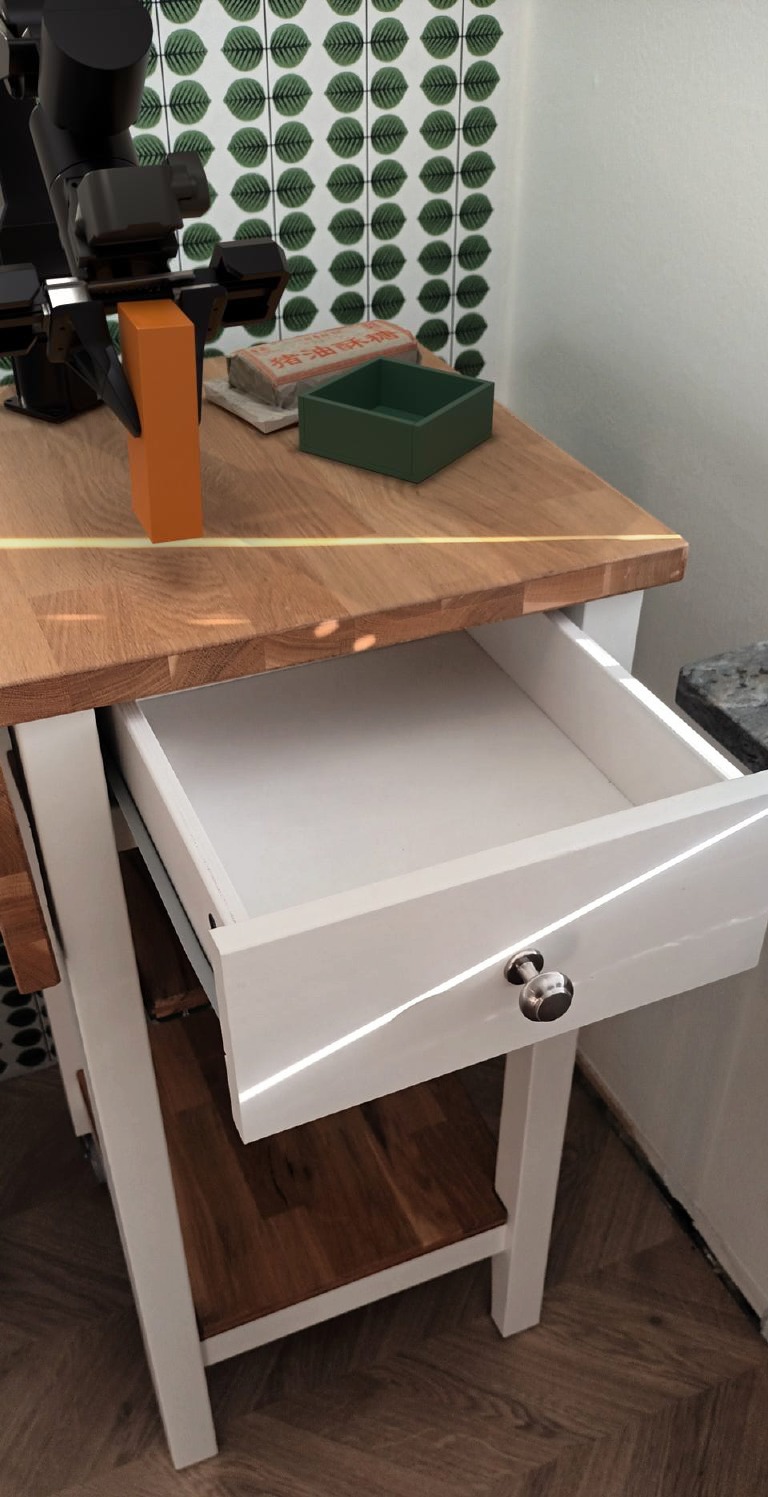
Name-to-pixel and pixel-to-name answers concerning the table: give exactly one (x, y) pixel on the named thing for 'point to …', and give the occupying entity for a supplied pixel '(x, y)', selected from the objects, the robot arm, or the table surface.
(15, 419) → the table surface
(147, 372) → the tall orange pillar
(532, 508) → the table surface
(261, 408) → the packaged product
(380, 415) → the green square open box
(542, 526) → the table surface
